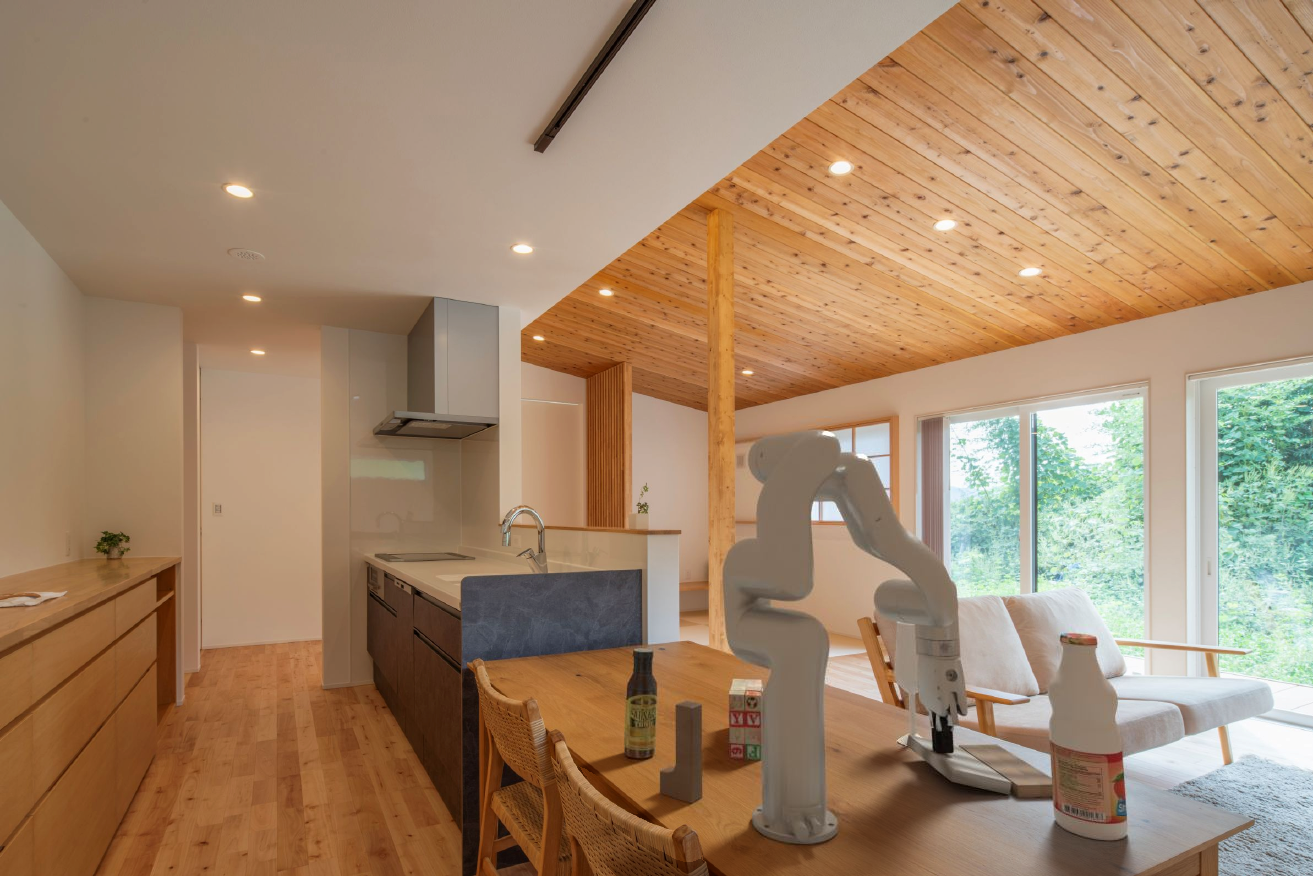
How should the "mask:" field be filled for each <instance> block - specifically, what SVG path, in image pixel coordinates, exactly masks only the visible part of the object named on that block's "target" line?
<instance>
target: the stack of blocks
mask: <svg viewBox="0 0 1313 876" xmlns="http://www.w3.org/2000/svg"><path fill="white" fill-rule="evenodd" d="M731 683H732V684H731V686H730V689H729V692H728V724H729V725H728V727H729V728H728V730H729V734H728V735H729V741H728V750H729V751H728V752H729V753H728V754H729V755H728V757H729V759H730V758H735V759H734V760H748V759H752V760H751V761H753V760H754V761H762V748H761V698H762V693H763V690H764V688H763V683H762V679H749V678H748V679H747V678H746V679H743V678H732V682H731Z"/></svg>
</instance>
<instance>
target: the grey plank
mask: <svg viewBox="0 0 1313 876" xmlns="http://www.w3.org/2000/svg"><path fill="white" fill-rule="evenodd" d="M907 746H908V747H907V748H909V749H910V750H911V751H913V752H914V753H916V755H918V756H919V757H921V758H922V759H923V760H924V761H925V762H927V764H929V765H930V766H932V767H933V768H934V769H935V770H937V772H939V773H941V774H942V775H943V776H944V777H945V778H947V779H948V780H949V781H951V782H952V783H956V784H961V785H963V786H969V787H974V788H978V789H981V790H982V789H983V790H987V791H991V792H995V793H1001V794H1005V795H1010V794H1011V792H1010V789H1011V783H1012V782H1010V781H1009V780H1007V779H1006V778H1004V777H1003V776H1001V775H1000V774H999V773H997V772H996V771H994V770H993V769H991V768H990V767H988V766H987V765H985V764H984V763H982V762H981V761H979V760H978V759H976V758H975V757H974V756H972V755H971V754H969V753H968V752H966V751H965V750H963V749H962V748H960V747H959V745H955V744H954V752H953V753H945V754H938V753H936V752H935V751H934V750H933V749H932V739H929V738H928V739H927V738H924V737H922V738H920V737H915V736H911V735H908V741H907Z"/></svg>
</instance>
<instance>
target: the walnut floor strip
mask: <svg viewBox="0 0 1313 876" xmlns="http://www.w3.org/2000/svg"><path fill="white" fill-rule="evenodd" d="M958 746H959V747H960V748H962V749H963V750H965V751H966V752H968V753H969V754H971V755H972V756H974V757H975V758H976V759H978V760H979V761H981V762H982V763H984V764H985V765H987V766H988V767H990V768H991V769H993V770H994V771H996V772H997V773H999V774H1000V775H1001V776H1003V777H1004V778H1006V779H1007V780H1009V781H1010V782H1012V783H1011V789H1010V794H1013V796H1015V797H1016V798H1017V799H1027V798H1028V799H1033V798H1035V797H1042V798H1053V791H1052V776H1051V775H1050V776H1049V775H1048V774H1046V773H1045V772H1043V771H1041V770H1040V769H1038V768H1036V767H1035V766H1032V765H1031V764H1030V763H1028V762H1027V761H1025V760H1023V759H1021V758H1020V757H1018V756H1016V755H1015V754H1013V753H1012V752H1010V751H1008V750H1007V749H1005V748H1003V747H1002V746H1000V745H999V744H995V743H994V744H993V743H992V744H991V743H989V744H958Z"/></svg>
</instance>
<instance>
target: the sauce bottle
mask: <svg viewBox="0 0 1313 876" xmlns="http://www.w3.org/2000/svg"><path fill="white" fill-rule="evenodd" d="M632 657H633V668H632V674H631V676H630V677H629V681H628V682H627V683H626V686H627V687H626V698H625V708H624V709H625V711H624V734H623V737H624V738H623V745H624V748H623V749H624V755H625V756H626V757H628V758H631V759H636V760H637V759H640V760H641V759H642V760H643V759H647V758H652V757H653V756H654V755H655V752H656V751H655V750H656V749H655V748H656V746H657V725H658V723H657V722H658V721H657V720H658V719H657V718H658V717H657V716H658V683H657V681H656V678H655V676H654V674H653V672H654V671H653V658H654V650H653V649H651V648H644V647H643V648H642V647H640V648H634V649H633V651H632Z"/></svg>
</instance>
